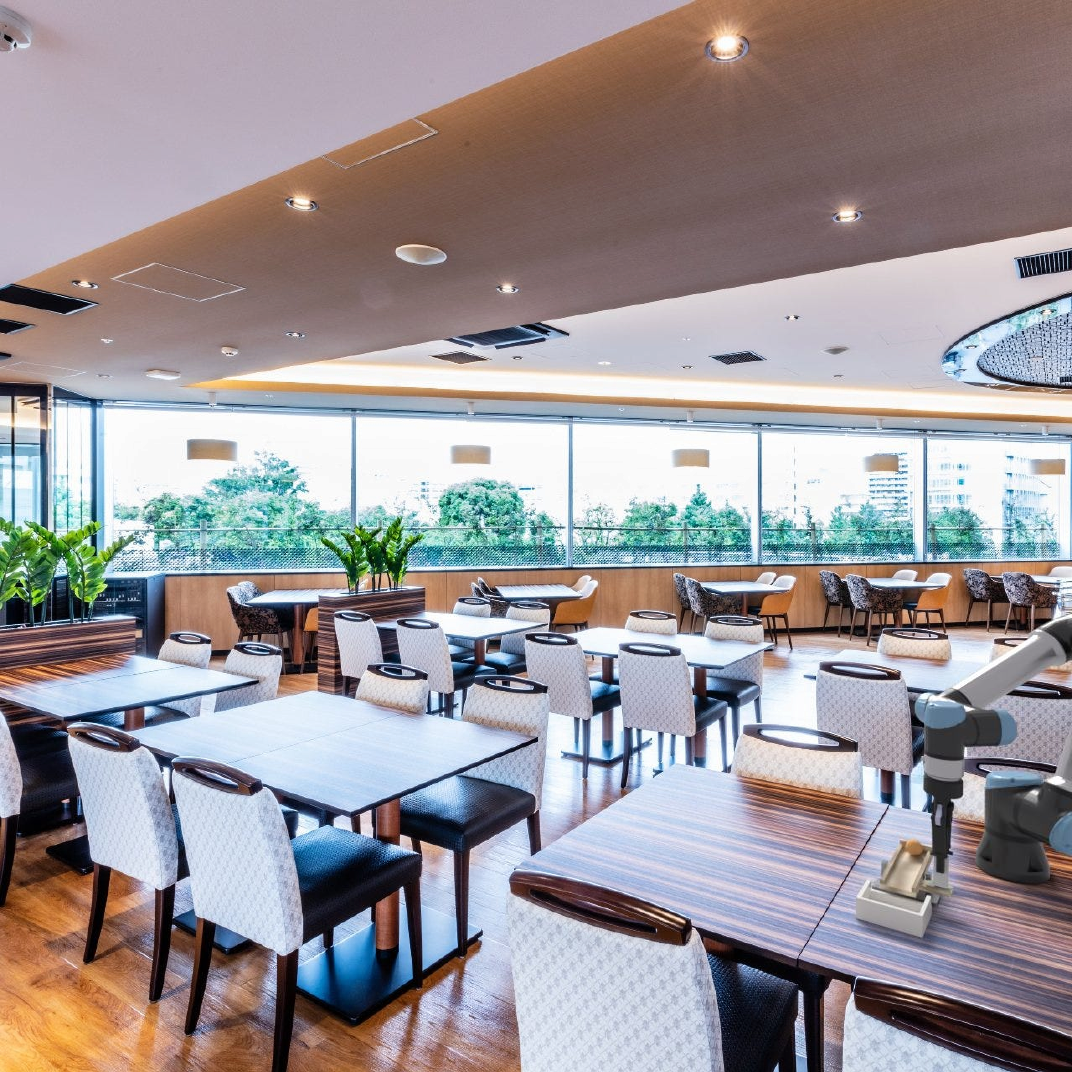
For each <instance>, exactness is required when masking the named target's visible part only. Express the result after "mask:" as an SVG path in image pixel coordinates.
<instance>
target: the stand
mask: <svg viewBox="0 0 1072 1072" xmlns="http://www.w3.org/2000/svg"><path fill="white" fill-rule="evenodd" d="M888 864H889V862H888V860H886V859H885V860H884V859H883V860H882V861H881V864H880V865H881V867H880V869H881V870H880V874H881V875H880V877H876V879H875V880H874V882H873V883H872V885H871V889H875V890H878V891H882V892H886V893H889V894H893V895H897V896H900V897H904V898H908V899H911V900H915V901H919V902H922V903H924V901H925V899H926V897H927V895H928V896H931V905H932V907H938V903H939V902H940V900H941V895H938V894H934V893H930V892H926V891H923V890H919V891H918V894H917V896H916V898H914V897H911V896H907V895H903V894H900V893H896V892H892V891H889V890H885V889H881V888H880V879H881V877H882V875H883V873H884V871H885V869H886V867H887V866H888ZM932 877H933V871H927V872H926V874H925V880H927V881H928V880H930V881H933V878H932Z"/></svg>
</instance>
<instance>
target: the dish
mask: <svg viewBox="0 0 1072 1072" xmlns="http://www.w3.org/2000/svg"><path fill="white" fill-rule="evenodd" d="M932 908H933V905H931V896H928V895H927V897H926V899H925V901H924V903H922V902H919V901H915V900H911V899H908V898H904V897H900V896H897V895H893V894H889V893H886V892H882V891H878V890H875V889H872V880H871V879H868V878H867V879H866V881H865V883H864V884H863V886H862V888H861V889H860V891H859V892H858V893H857V895H856V897H855V919H858V920H861V921H865V922H868V923H870V924H874V925H878V926H881V927H885V928H888V929H891V930H893V931H894V930H895V931H897V932H901V933H905V934H908V935H910V936H915V937H918V938H921V939H922V938H923V937H924V934H925V933H926V930H927V928H928V925H929V923H930V921H931V918H932V915H933V914H932V913H933V912H932V910H933V909H932Z"/></svg>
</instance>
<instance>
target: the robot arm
mask: <svg viewBox="0 0 1072 1072" xmlns="http://www.w3.org/2000/svg"><path fill="white" fill-rule="evenodd" d="M1071 661H1072V612H1071V613H1067V614H1063V615H1061V616H1058V617H1056V618H1054V619H1051V620H1050V621H1047V622H1046V623H1044V624H1041V625H1040V626H1039V627H1037V628H1035V629H1033V630H1032V631H1030V632H1029V634H1028V636H1027V639H1026V640H1025V641H1023V642H1022V643H1019V644H1018V645H1016V646H1014V647H1013V648H1012V649H1010V650H1008V651H1007V652H1005V653H1003V654H1002V655H1000V656H998V657H996V658H995V659H994V660H992V661H991V662H989V663H987V664H986V665H984V666H982V667H981V668H979V669H978V670H976V671H975V672H973V673H972V674H970V675H968V676H966V677H965V678H963V679H962V680H960V681H958V682H957V683H955V684H954V685H952V686H950V687H949V688H948V689H946V690H943V691H942V692H940V693H938V692H924V693H922V694H921V695H919V696H918V697H917V700H916V701H915V704H914V712H915V715H916V718H917V719H918V720H919V721H920V722H922V723H923V724H924V727H923V728H924V729H923V730H924V731H923V732H924V735H923V736H924V737H923V741H924V745H923V747H924V748H923V749H924V754H923V756H921V757H920V761H923V762H924V763H923V771H924V772H925V773H924V774H923V779H922V780H923V781H922V784H923V785H922V786H923V787H922V789H923V791H924V792H925V793H926V794H928V796H931V797H934V798H933V800H932V802H931V803H930V811H931V815H930V821H931V822H930V823H931V846H932V851H931V852H930V855H933V867H932V869H933V871H932V877H933V878H932V881H933V885H934V886H938V887H942V888H946V889H947V888H948V885H949V881H950V880H949V876H950V856H954V851H951V850H950V849H951V847H952V844H951V843H952V842H951V840H952V825H953V824H952V823H953V816H954V811H955V802H954V801H953V800H959V799H961V798H962V797H963V796H964V780H963V778H964V777H965V748H982V747H983V748H984V747H996V748H997V747H1000V746H1006V745H1007V746H1008V745H1010V744H1013V742H1015V741H1016V739H1017V736H1018V725H1017V721H1016V720H1015V718H1014V716H1013V715H1012V714H1011V713H1010V712H1008V711H1006V710H1003V709H994V708H991V709H985V708H987V707H988V706H990V705H992V704H993V703H995V702H996V701H998V700H999V699H1001V698H1002V697H1004V696H1006V695H1008V694H1010V693H1011V692H1012V691H1014V690H1016V689H1017V688H1019V687H1020V686H1022V685H1024V684H1025V683H1027V682H1028V681H1030V680H1031V679H1034V678H1035V677H1037V676H1038V675H1040V674H1041V673H1043V672H1044V671H1046V670H1047V669H1049V668H1050V667H1061V666H1063V665H1064V664H1066V663H1068V662H1071ZM1059 758H1060V759H1059V761H1058V764H1057V766H1056V771H1055V773H1054V775H1053V776H1051V777H1048V778H1046V779H1044V780H1043V777H1042V776H1041V775H1040V774H1036V773H1032V772H1028V771H1021V770H1006V769H1005V770H994V771H991V772H989V773H988V774H987V775H986V776H985V785H984V788H983V789H984V830H983V834H982V837H981V839H980V841H979V844H978V846H977V848H976V850H975V859H974V860H975V861H974V862H975V864H976V866H977V867H978V868H979V869H981V870H982V871H984V872H985V873H987V874H989V875H991V876H993V877H996V878H999V879H1002V880H1005V881H1010V882H1014V883H1020V884H1029V885H1030V884H1031V885H1032V884H1033V885H1034V884H1042V883H1043V884H1044V883H1046V882H1048V881H1049V880H1050V879H1051V867H1050V862H1049V860H1048V857H1047V855H1046V851H1045V849H1044V845H1047V846H1048V847H1049V848H1052V849H1054V851H1056V852H1058V853H1061V854H1065V855H1067V856H1069V857H1072V723H1071V724H1070V728H1069V730H1068V734H1067V736H1066V740H1065V743H1064V746H1063V749H1062V753H1061V755H1060V757H1059ZM1043 844H1044V845H1043Z"/></svg>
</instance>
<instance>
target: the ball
mask: <svg viewBox="0 0 1072 1072" xmlns="http://www.w3.org/2000/svg"><path fill="white" fill-rule="evenodd" d="M908 840H909V841H908V842H907V843H906V850H907V851H908V853H910V854H911V855H914V856H917V855H920V854H921V853H922V849H923V848H922V845H921V842H920V841H919V840H917V839H914V838H913V839H912V838H911V839H908Z"/></svg>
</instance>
